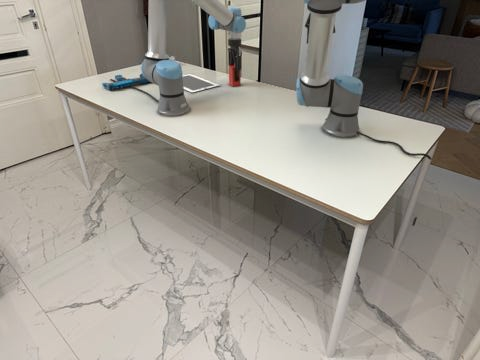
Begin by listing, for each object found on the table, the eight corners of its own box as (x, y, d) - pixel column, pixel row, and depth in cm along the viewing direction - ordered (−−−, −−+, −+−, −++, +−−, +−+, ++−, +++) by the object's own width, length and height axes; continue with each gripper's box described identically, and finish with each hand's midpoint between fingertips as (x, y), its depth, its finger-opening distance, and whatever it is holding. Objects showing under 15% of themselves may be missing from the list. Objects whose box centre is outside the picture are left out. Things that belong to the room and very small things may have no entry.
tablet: (163, 80, 212) (163, 79, 212) (190, 74, 223) (190, 73, 223) (192, 93, 192) (192, 92, 192) (220, 85, 203) (220, 85, 203)
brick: (237, 83, 207) (237, 64, 201) (240, 85, 204) (240, 66, 198) (229, 84, 205) (228, 65, 199) (232, 86, 202) (232, 67, 196)
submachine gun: (146, 68, 225) (164, 74, 209) (147, 73, 227) (165, 80, 210) (94, 78, 207) (110, 85, 190) (96, 84, 209) (112, 92, 192)
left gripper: (222, 36, 196) (222, 76, 208) (235, 41, 182) (235, 84, 195) (233, 35, 198) (233, 75, 211) (248, 40, 185) (247, 83, 198)
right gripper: (300, -5, 163) (296, 41, 175) (334, -1, 145) (327, 51, 156) (313, -6, 166) (308, 40, 178) (348, -1, 147) (340, 50, 159)
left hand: (234, 79), depth 203 cm, fingers closed on brick, 5 cm apart
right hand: (317, 45), depth 167 cm, fingers open, 13 cm apart
